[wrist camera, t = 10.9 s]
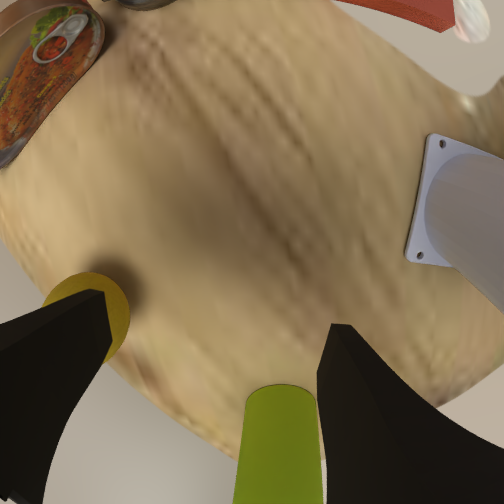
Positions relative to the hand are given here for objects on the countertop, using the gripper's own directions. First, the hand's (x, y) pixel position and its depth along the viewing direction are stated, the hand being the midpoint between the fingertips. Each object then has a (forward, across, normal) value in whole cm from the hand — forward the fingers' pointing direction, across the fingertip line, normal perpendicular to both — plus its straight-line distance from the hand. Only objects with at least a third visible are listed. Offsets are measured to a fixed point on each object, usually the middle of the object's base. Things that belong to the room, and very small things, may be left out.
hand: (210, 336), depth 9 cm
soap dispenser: (+10, -4, +14) cm, 17 cm away
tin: (+10, +15, -9) cm, 20 cm away
